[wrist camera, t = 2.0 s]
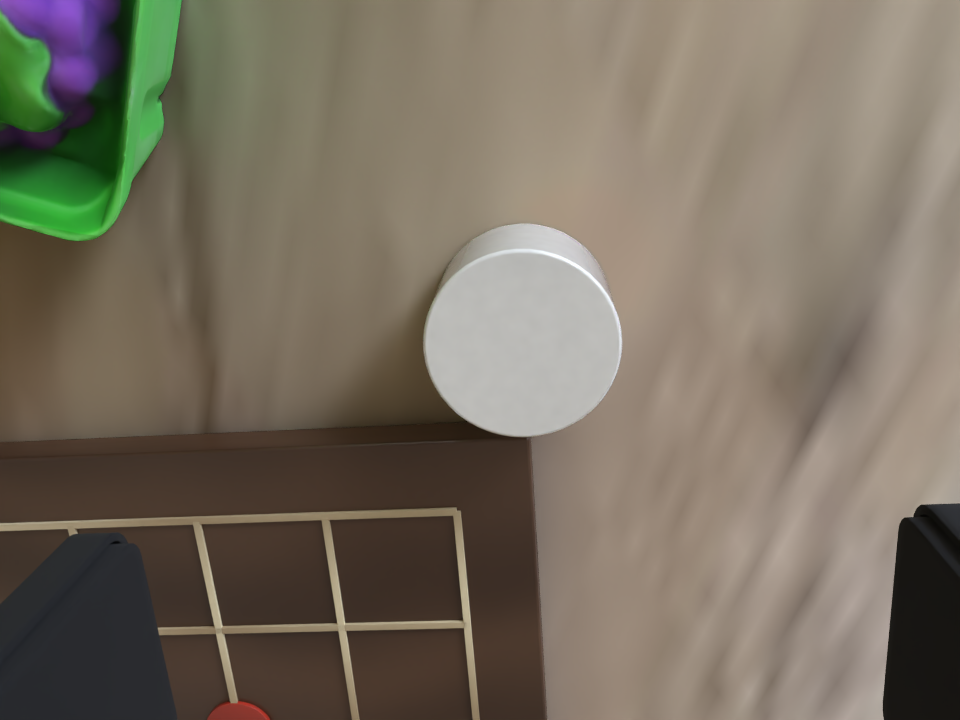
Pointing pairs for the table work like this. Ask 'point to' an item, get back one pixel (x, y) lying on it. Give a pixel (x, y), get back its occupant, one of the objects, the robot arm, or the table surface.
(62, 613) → the robot arm
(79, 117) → the fruit basket
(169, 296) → the table surface
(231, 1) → the table surface
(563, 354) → the white round puck
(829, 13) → the table surface
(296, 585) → the board
